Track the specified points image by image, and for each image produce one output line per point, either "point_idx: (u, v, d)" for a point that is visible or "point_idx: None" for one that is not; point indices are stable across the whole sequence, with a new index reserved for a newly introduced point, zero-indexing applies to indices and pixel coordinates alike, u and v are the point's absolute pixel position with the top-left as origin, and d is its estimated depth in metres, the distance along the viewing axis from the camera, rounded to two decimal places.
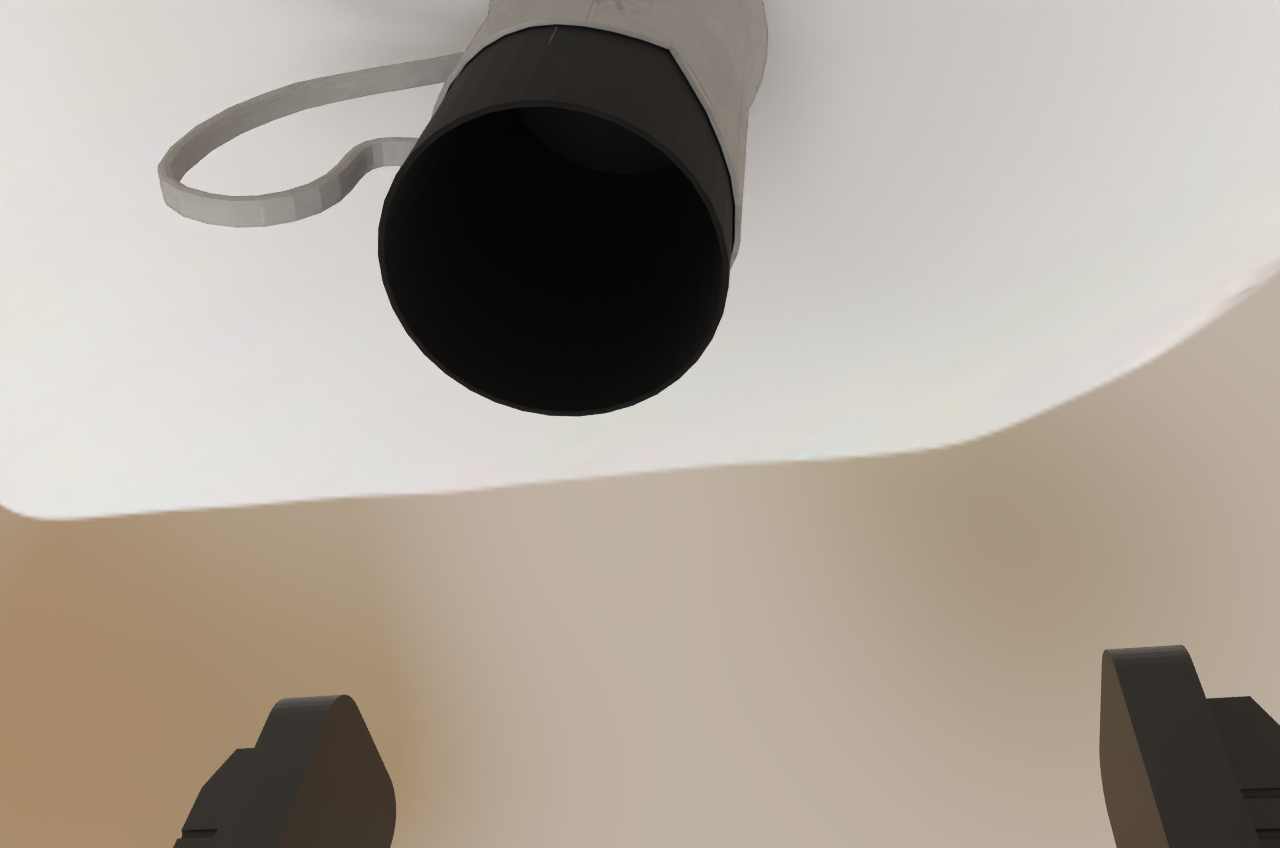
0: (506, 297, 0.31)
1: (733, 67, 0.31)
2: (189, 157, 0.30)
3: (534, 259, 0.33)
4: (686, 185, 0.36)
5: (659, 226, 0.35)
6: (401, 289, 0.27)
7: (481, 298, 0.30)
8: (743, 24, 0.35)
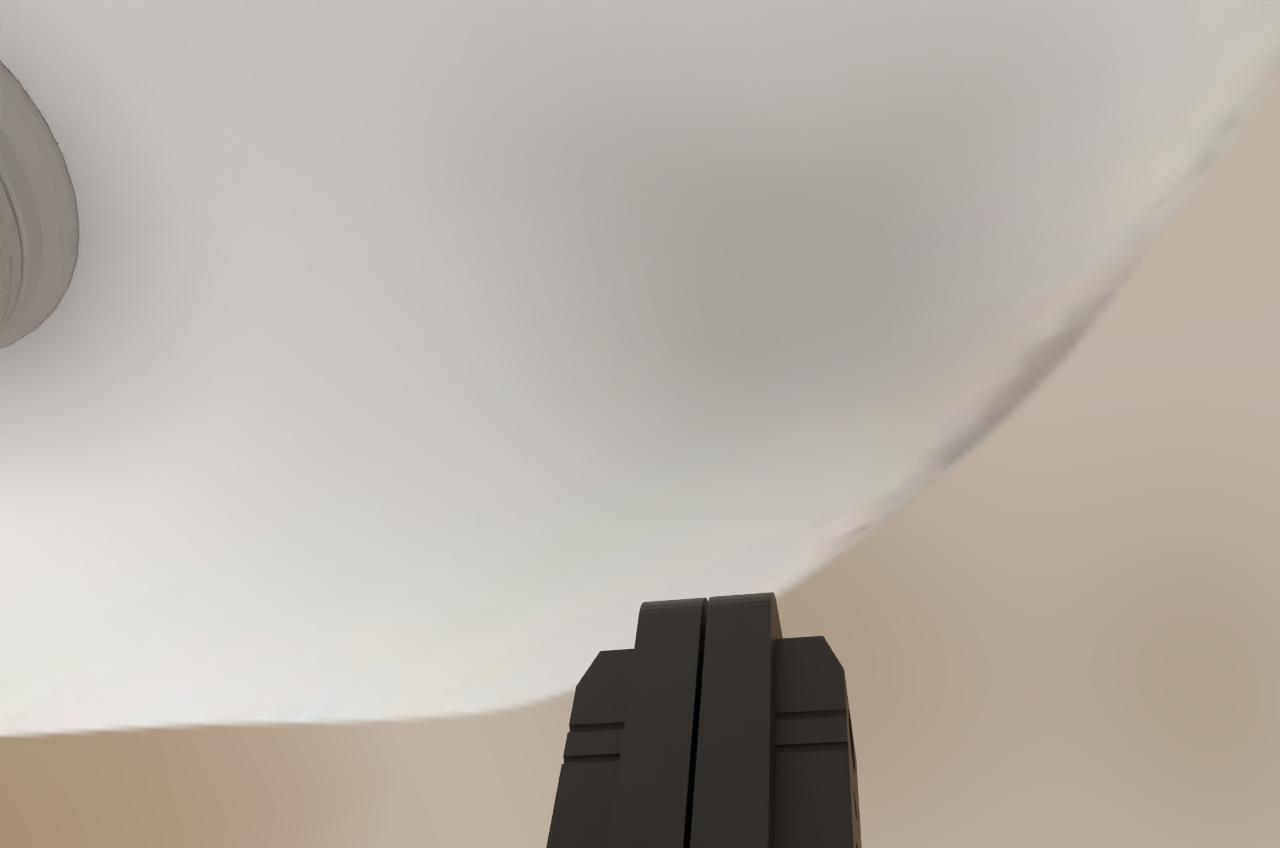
0: None
1: None
2: None
3: None
4: None
5: None
6: None
7: None
8: None
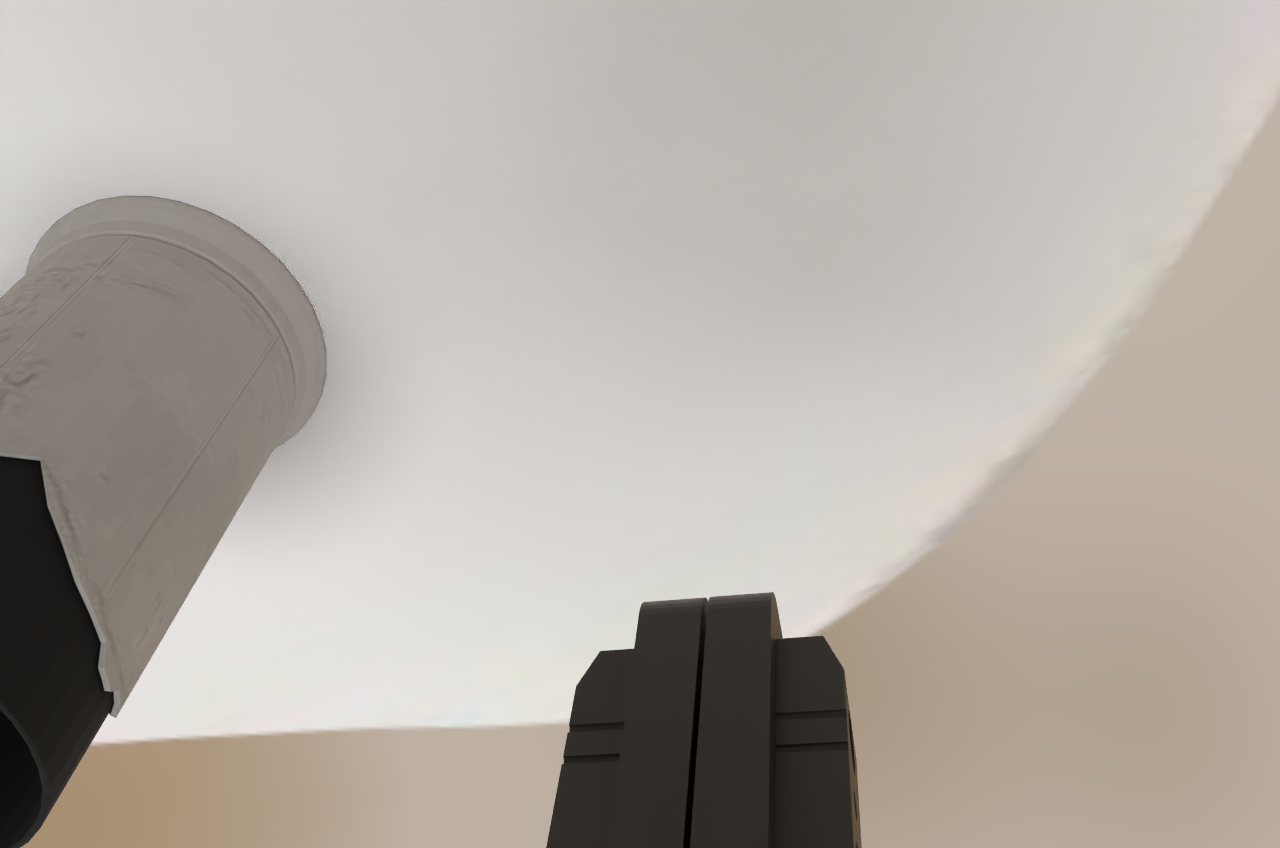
0: None
1: (181, 436, 0.28)
2: None
3: None
4: None
5: None
6: None
7: None
8: (261, 344, 0.32)
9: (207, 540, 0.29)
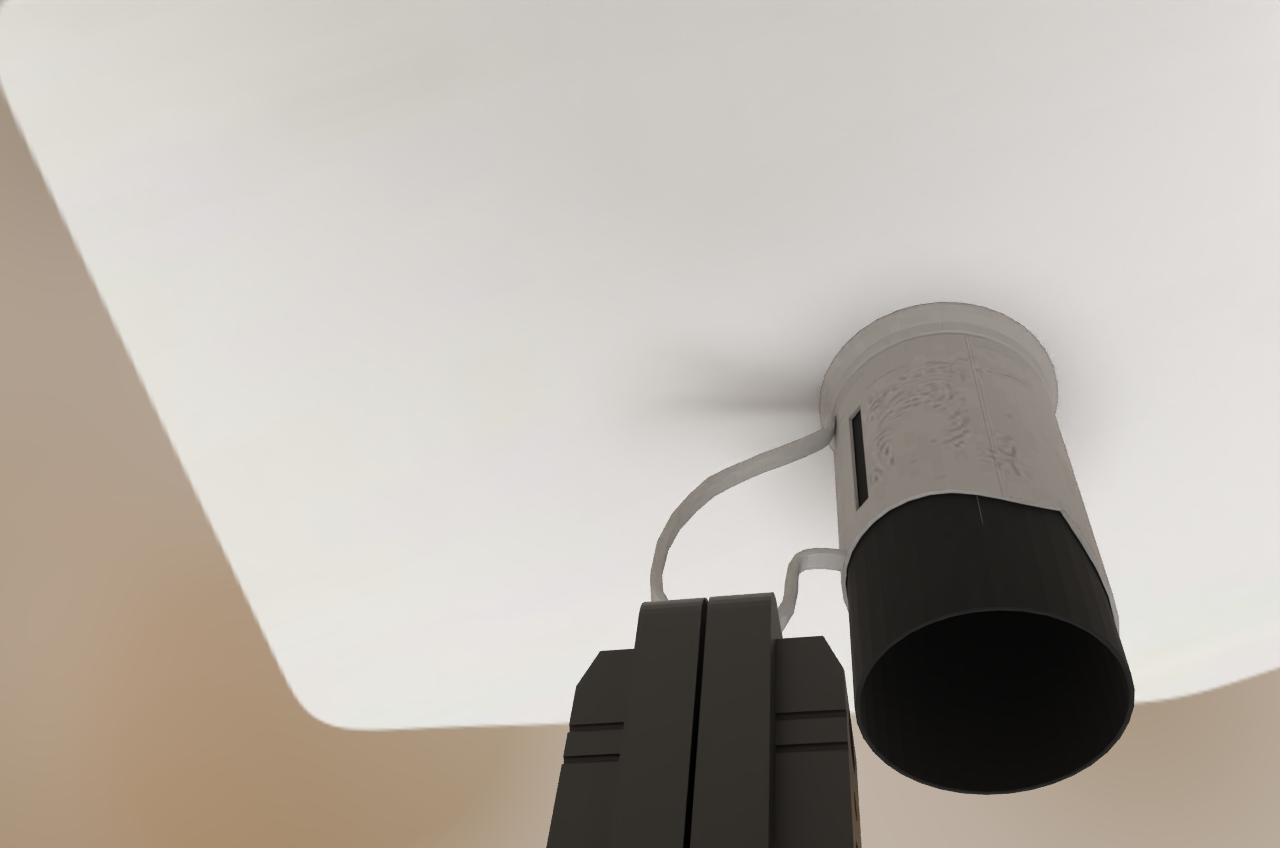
0: (895, 668, 0.39)
1: None
2: (662, 571, 0.37)
3: None
4: None
5: None
6: (859, 704, 0.35)
7: (883, 677, 0.38)
8: None
9: None
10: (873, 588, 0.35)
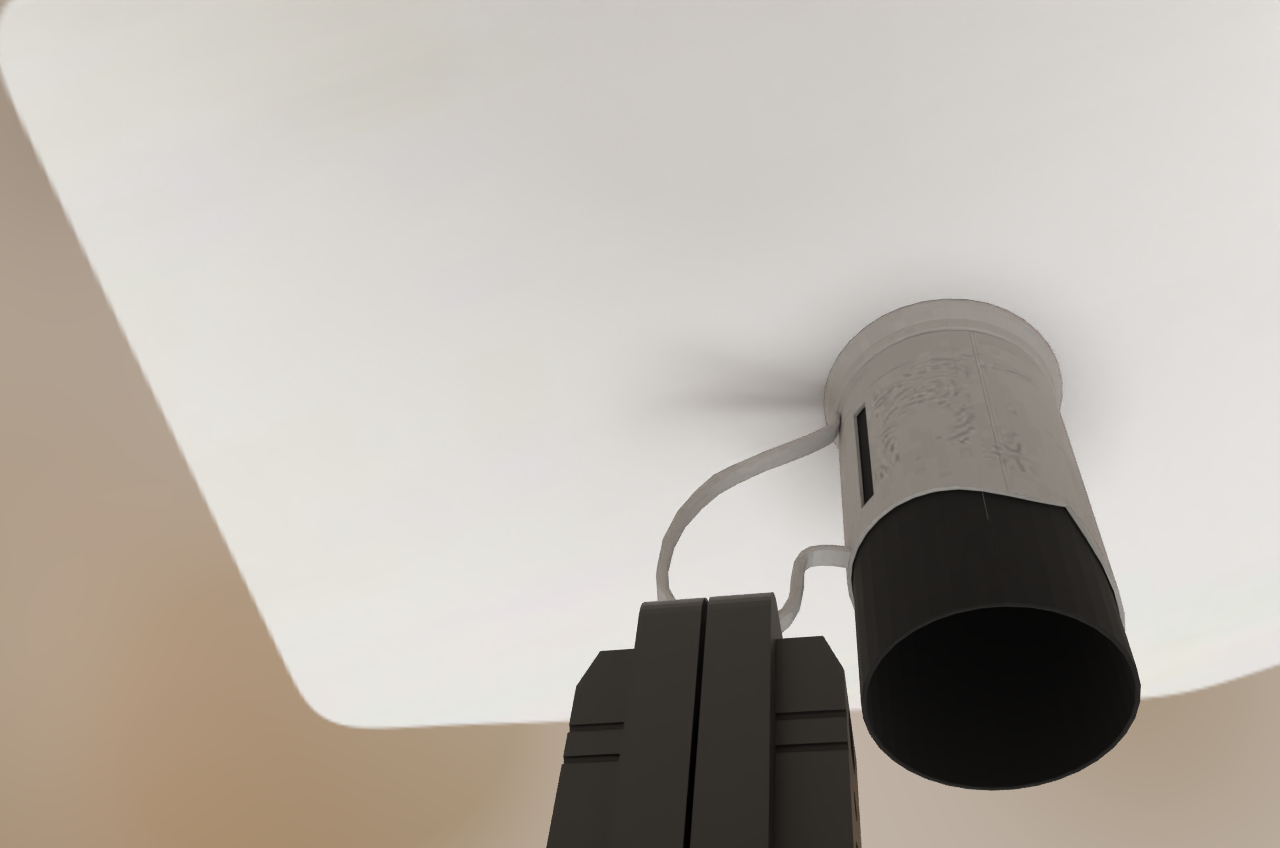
0: (901, 665, 0.39)
1: None
2: (668, 568, 0.37)
3: None
4: None
5: None
6: (866, 701, 0.35)
7: (889, 673, 0.38)
8: None
9: None
10: (879, 585, 0.35)
